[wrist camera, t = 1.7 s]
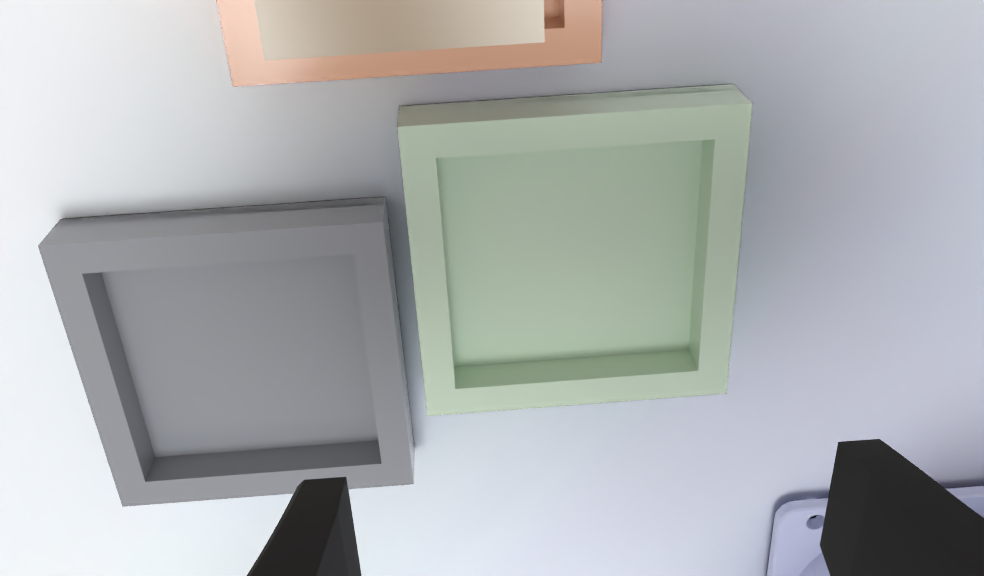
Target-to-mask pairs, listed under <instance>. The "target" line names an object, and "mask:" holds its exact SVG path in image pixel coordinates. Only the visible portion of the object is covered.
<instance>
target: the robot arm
mask: <svg viewBox="0 0 984 576" xmlns="http://www.w3.org/2000/svg"><path fill="white" fill-rule="evenodd" d="M814 515H818V516H816V517H815V518H813V519H809V518H810V517H812V516H814ZM247 576H361V570H360V563H359V557H358V550H357V544H356V537H355V531H354V524H353V518H352V511H351V504H350V498H349V491H348V485H347V478H346V477H335V478H321V479H307V480H303V481H302V482H301V483H300V484H299V485H298V486H297V488H296V490H295V492H294V494H293V496H292V498H291V500H290V502H289V504H288V506H287V508H286V510H285V512H284V514H283V515H282V517H281V519H280V521H279V523H278V525H277V526H276V528H275V530H274V532H273V533H272V535H271V537H270V539H269V540H268V542H267V544H266V545H265V547H264V549H263V551H262V552H261V554H260V555H259V557H258V559H257V560H256V562H255V563H254V565H253V567H252V568H251V570H250V571H249V573H248V575H247ZM767 576H984V486H975V487H962V488H949V489H945V488H944V487H942V486H941V485H940V484H938V483H937V482H936V481H934V480H933V479H932V478H931V477H929V476H928V475H927V474H925V473H924V472H923V471H921V470H920V469H919V468H918V467H916V466H915V465H914V464H912V463H911V462H910V461H908V460H907V459H906V458H904V457H903V456H902V455H901V454H899V453H898V452H897V451H895V450H894V449H892V448H891V447H890V446H888V445H887V444H886V443H884V442H883V441H881V440H880V439H874V440H860V441H845V442H838V447H837V452H836V458H835V463H834V469H833V474H832V480H831V485H830V491H829V496H828V498H822V499H810V500H797V501H791V502H787V503H785V504H784V505H782V506H781V507H780V508H779V509H778V510H777V512H776V514H775V518H774V525H773V533H772V540H771V548H770V555H769V563H768V570H767Z"/></svg>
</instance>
